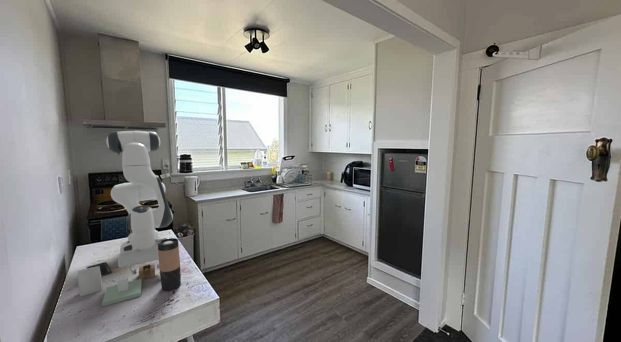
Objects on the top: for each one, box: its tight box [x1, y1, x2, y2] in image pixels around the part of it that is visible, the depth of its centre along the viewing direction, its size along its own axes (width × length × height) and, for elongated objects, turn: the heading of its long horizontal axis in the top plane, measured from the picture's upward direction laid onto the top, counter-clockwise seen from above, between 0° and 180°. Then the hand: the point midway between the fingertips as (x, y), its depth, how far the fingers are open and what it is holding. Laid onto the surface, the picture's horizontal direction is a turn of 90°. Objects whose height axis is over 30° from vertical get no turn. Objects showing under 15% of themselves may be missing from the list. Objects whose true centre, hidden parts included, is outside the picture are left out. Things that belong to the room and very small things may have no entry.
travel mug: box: [158, 237, 182, 292], centre depth 105 cm, size 8×8×20 cm
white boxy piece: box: [77, 266, 103, 297], centre depth 103 cm, size 4×7×10 cm, turn 128°
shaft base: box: [101, 277, 143, 307], centre depth 102 cm, size 12×12×6 cm
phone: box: [85, 261, 112, 278], centre depth 120 cm, size 8×1×15 cm
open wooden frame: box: [138, 262, 156, 281], centre depth 115 cm, size 6×6×4 cm
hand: (146, 270), depth 115 cm, fingers open, 8 cm apart
